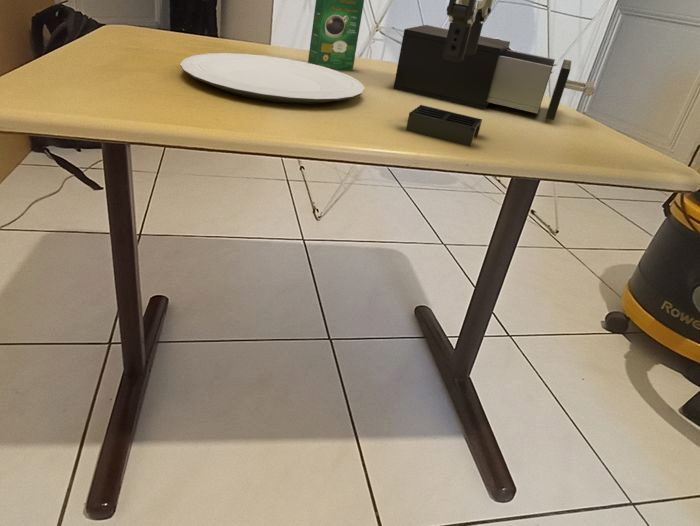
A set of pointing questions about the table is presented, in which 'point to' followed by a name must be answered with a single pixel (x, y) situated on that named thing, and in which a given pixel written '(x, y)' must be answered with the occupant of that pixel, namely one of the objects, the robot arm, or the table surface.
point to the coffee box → (335, 33)
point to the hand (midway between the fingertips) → (459, 57)
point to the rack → (443, 125)
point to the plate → (272, 78)
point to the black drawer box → (446, 68)
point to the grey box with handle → (530, 82)
